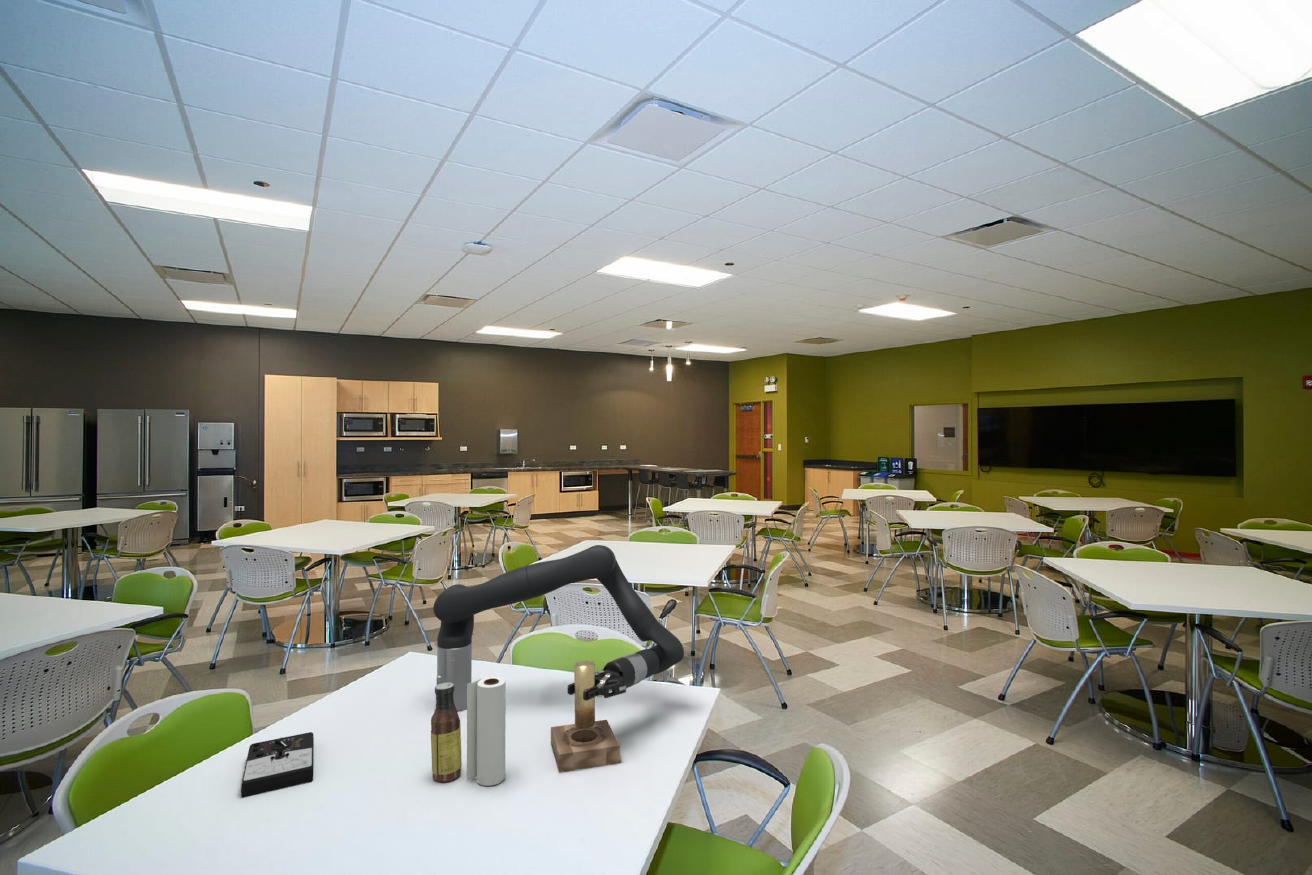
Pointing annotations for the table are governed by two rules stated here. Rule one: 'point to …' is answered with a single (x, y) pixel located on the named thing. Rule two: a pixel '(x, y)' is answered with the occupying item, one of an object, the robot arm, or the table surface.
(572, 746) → the jig
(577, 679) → the yellow cylinder peg
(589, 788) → the table surface
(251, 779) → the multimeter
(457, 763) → the sauce bottle
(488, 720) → the paper towel roll
